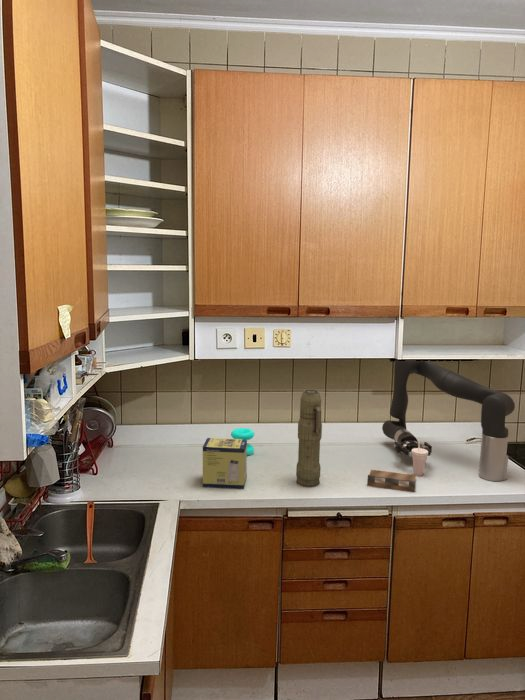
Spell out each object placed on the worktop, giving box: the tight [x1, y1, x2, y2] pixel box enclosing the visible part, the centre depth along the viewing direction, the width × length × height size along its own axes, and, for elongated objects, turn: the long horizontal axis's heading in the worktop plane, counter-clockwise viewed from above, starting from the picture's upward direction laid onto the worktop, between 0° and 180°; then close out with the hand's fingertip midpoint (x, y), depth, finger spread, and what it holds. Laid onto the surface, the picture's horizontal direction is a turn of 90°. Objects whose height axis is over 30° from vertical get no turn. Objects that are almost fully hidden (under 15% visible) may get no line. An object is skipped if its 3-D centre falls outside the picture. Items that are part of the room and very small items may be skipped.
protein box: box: [202, 437, 248, 490], centre depth 198 cm, size 10×16×16 cm
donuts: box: [230, 427, 255, 457], centre depth 230 cm, size 10×10×10 cm
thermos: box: [295, 389, 323, 488], centre depth 198 cm, size 9×12×35 cm
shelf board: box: [366, 469, 417, 493], centre depth 202 cm, size 17×13×4 cm
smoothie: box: [411, 439, 428, 477], centre depth 210 cm, size 6×6×14 cm
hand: (418, 453), depth 211 cm, fingers open, 8 cm apart
